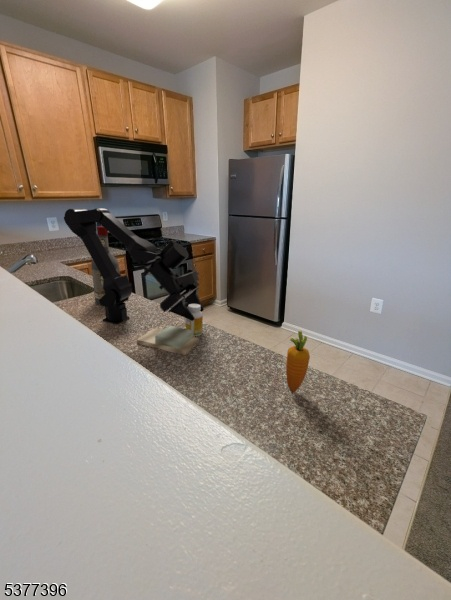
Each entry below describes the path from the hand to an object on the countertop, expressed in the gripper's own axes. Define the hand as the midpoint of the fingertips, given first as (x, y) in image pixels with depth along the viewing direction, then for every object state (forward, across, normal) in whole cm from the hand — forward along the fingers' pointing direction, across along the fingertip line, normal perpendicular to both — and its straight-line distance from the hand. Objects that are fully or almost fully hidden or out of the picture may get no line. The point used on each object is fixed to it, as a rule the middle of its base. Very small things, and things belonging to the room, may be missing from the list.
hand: (198, 315), depth 87 cm
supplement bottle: (+4, 0, +6) cm, 7 cm away
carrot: (+27, -20, -17) cm, 38 cm away
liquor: (-26, +14, +36) cm, 47 cm away
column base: (0, -9, +9) cm, 12 cm away
